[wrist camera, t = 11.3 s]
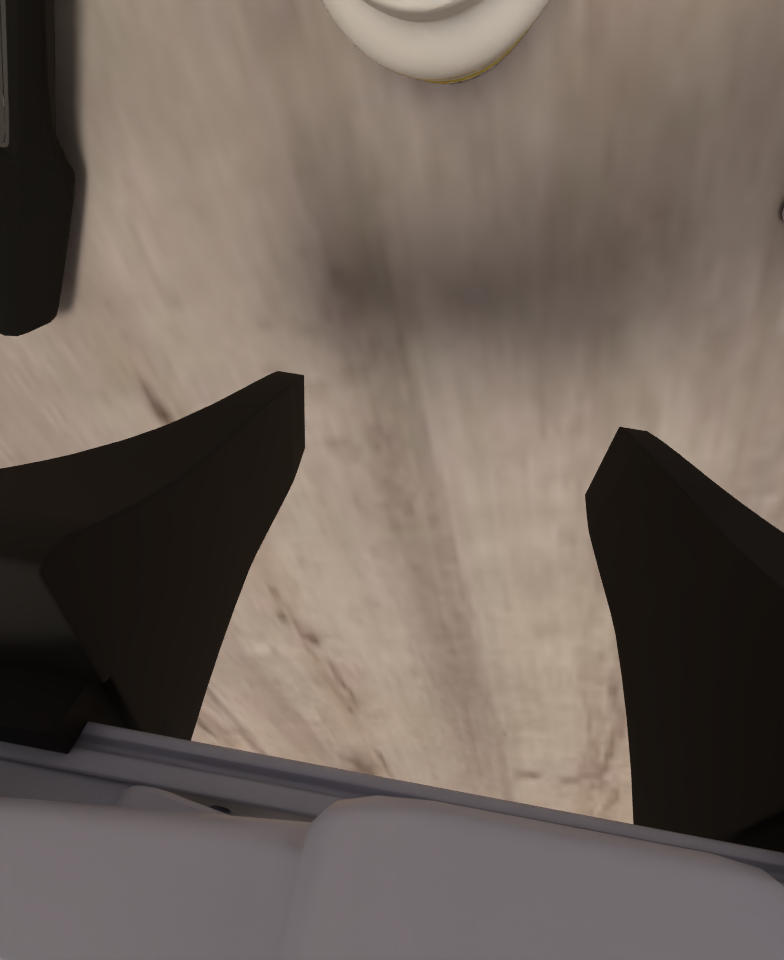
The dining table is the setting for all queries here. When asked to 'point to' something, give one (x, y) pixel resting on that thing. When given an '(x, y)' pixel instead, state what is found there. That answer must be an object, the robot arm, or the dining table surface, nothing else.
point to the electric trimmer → (30, 170)
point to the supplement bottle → (435, 33)
